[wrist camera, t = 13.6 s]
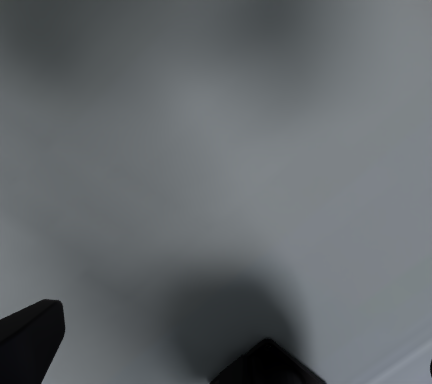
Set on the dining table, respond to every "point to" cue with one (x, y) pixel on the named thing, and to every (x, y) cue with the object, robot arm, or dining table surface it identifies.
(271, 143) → the dining table surface
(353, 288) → the dining table surface
